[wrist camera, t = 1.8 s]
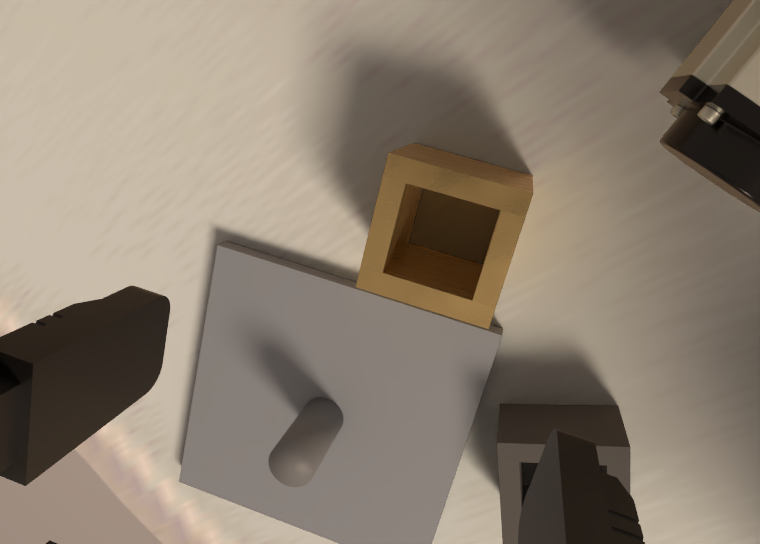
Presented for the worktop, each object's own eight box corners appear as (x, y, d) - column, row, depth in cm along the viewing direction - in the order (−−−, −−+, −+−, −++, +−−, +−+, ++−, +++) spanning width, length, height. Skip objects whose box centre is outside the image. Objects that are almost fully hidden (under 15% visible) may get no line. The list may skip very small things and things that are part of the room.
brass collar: (532, 175, 30) (533, 193, 24) (495, 288, 31) (488, 329, 26) (414, 142, 30) (388, 152, 25) (385, 254, 32) (355, 286, 27)
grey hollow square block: (618, 406, 32) (630, 447, 28) (618, 506, 33) (630, 558, 29) (500, 404, 33) (496, 442, 29) (506, 500, 35) (503, 549, 31)
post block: (502, 328, 32) (497, 377, 26) (423, 562, 37) (404, 646, 31) (226, 241, 34) (166, 268, 29) (187, 472, 39) (130, 534, 34)
